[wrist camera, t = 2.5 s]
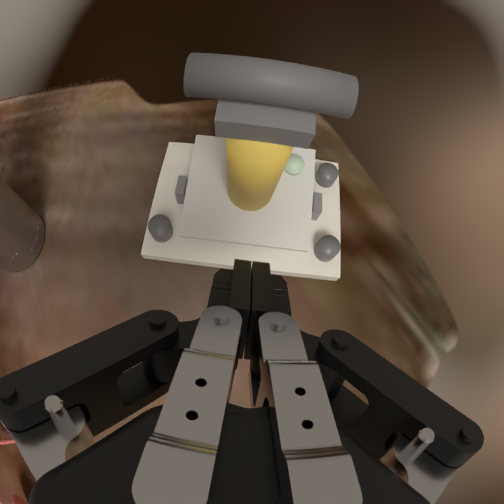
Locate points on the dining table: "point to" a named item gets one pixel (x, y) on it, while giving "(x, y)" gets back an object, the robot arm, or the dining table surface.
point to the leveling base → (223, 254)
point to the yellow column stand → (258, 148)
